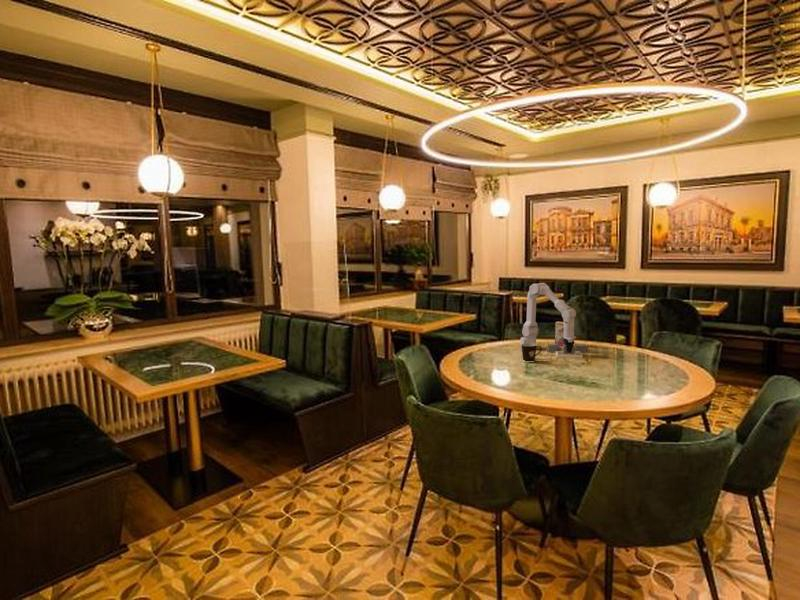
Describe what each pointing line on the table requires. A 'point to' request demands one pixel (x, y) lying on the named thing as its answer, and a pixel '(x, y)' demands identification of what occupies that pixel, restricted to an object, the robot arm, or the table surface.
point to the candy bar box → (559, 333)
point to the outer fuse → (580, 348)
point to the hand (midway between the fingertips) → (568, 351)
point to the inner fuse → (553, 348)
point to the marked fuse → (566, 350)
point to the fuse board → (560, 350)
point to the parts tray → (569, 355)
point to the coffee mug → (529, 351)
